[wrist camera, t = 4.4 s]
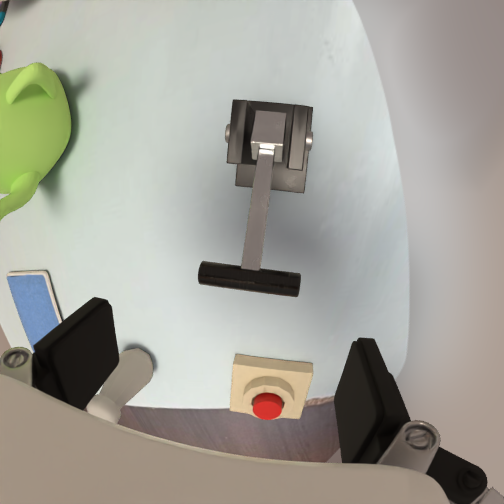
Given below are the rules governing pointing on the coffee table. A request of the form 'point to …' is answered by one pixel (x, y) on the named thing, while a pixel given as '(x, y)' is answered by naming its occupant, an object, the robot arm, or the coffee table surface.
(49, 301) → the tablet
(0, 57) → the canned food
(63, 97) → the teapot
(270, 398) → the stop button
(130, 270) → the coffee table surface
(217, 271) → the lever
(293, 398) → the control box
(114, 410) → the salt shaker
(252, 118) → the switch bracket
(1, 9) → the gaming console
